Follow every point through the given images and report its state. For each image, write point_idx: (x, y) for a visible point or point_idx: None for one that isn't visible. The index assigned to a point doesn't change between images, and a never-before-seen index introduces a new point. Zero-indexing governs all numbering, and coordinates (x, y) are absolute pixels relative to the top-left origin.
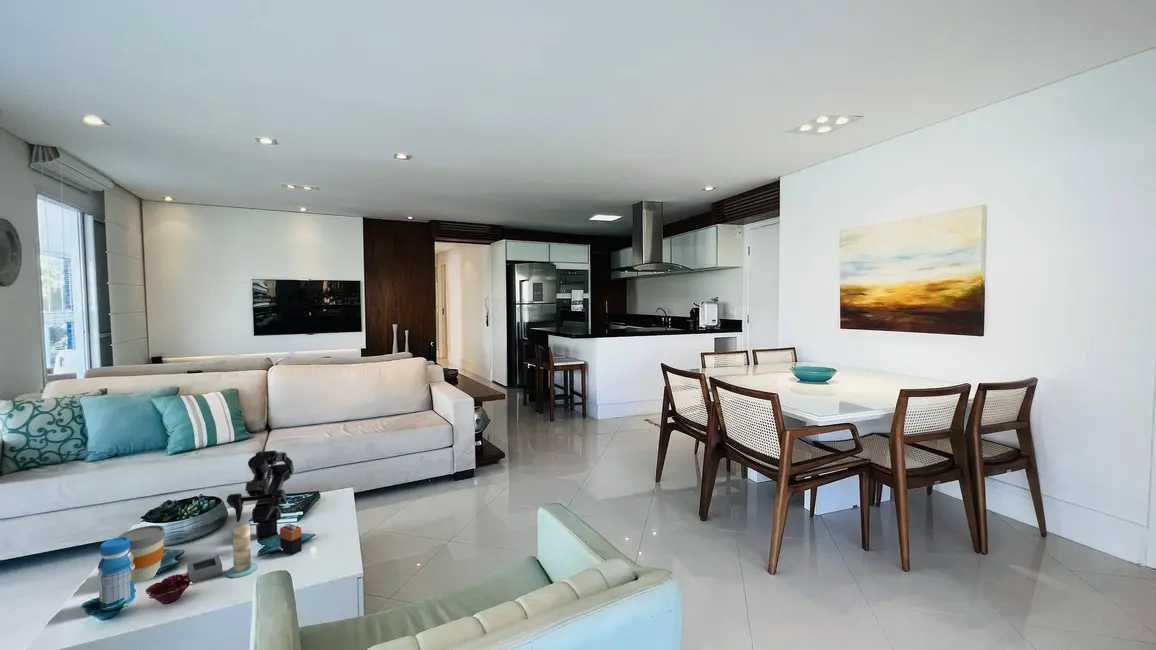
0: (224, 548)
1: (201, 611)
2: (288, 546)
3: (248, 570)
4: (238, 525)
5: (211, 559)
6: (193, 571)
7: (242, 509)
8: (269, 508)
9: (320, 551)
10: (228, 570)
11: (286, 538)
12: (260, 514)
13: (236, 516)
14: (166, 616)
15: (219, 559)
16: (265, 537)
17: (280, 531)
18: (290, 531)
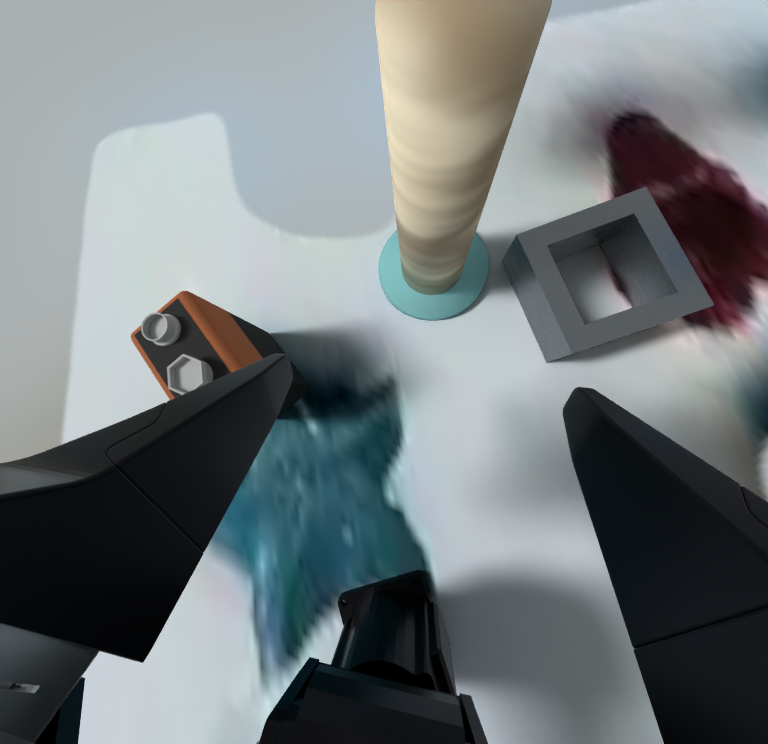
0: (579, 547)
1: None
2: (256, 331)
3: None
4: (507, 49)
5: (594, 321)
6: (636, 210)
7: (650, 701)
8: (177, 404)
9: None
10: (485, 272)
11: (241, 332)
12: (407, 716)
13: (647, 427)
14: (599, 39)
15: (549, 296)
16: (394, 580)
17: None
18: (183, 294)
